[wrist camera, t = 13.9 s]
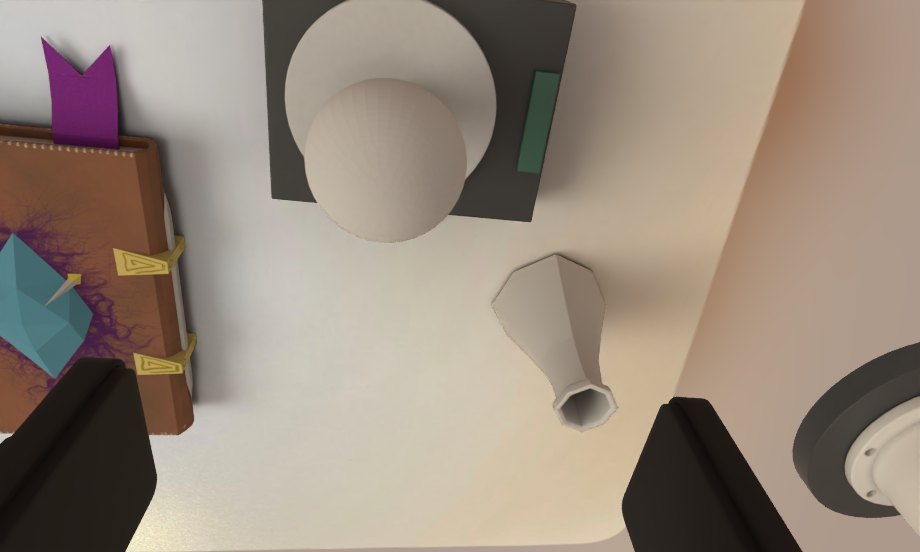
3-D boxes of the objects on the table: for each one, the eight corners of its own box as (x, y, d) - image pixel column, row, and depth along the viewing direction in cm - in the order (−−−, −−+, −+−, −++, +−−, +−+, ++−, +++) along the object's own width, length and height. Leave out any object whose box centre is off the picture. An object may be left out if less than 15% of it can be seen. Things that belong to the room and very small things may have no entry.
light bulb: (309, 74, 25) (253, 141, 17) (430, 27, 25) (435, 71, 16) (363, 187, 28) (339, 293, 20) (472, 148, 28) (496, 239, 19)
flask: (472, 303, 37) (487, 411, 28) (557, 233, 35) (602, 328, 26) (540, 362, 40) (573, 476, 31) (622, 301, 38) (682, 407, 29)
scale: (562, -2, 28) (581, 6, 25) (522, 201, 33) (533, 229, 30) (275, -42, 26) (255, -40, 23) (283, 178, 32) (267, 205, 29)
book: (167, 47, 29) (129, 66, 24) (207, 403, 41) (187, 456, 37) (-210, 1, 26) (-327, 13, 22) (-45, 397, 38) (-98, 454, 34)
